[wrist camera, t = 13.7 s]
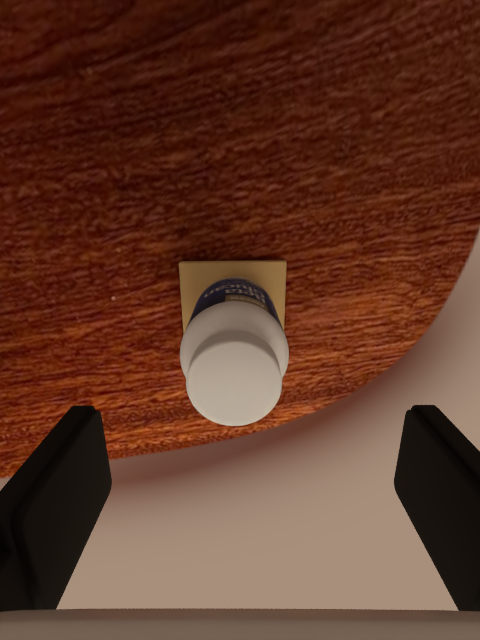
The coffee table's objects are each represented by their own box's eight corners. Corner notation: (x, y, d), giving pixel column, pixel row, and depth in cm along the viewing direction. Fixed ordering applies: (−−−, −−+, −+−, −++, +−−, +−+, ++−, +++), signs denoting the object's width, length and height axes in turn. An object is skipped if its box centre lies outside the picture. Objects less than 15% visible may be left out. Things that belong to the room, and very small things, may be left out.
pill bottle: (267, 267, 22) (290, 312, 13) (280, 342, 24) (309, 429, 15) (186, 283, 22) (152, 339, 13) (205, 356, 24) (186, 450, 15)
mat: (285, 260, 23) (286, 261, 22) (281, 356, 25) (283, 359, 24) (179, 261, 23) (178, 262, 22) (186, 357, 25) (184, 361, 24)
